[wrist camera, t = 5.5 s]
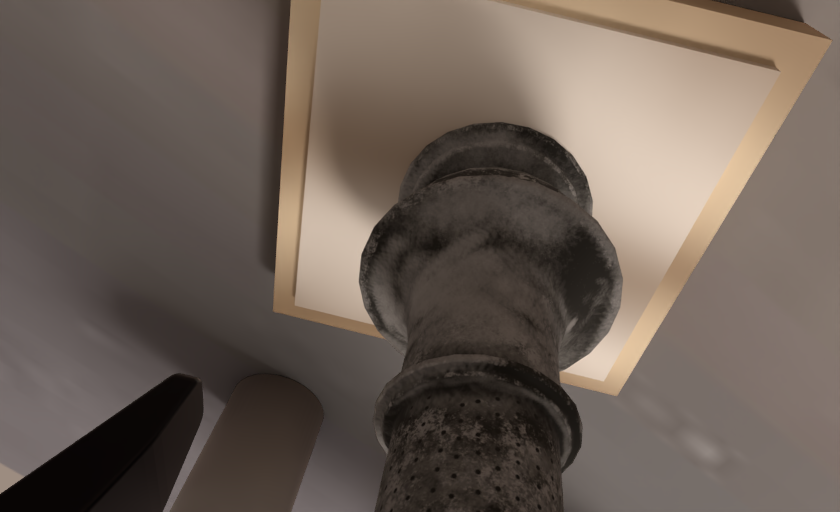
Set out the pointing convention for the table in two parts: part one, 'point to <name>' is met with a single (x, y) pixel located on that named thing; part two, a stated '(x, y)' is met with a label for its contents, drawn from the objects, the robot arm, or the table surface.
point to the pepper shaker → (255, 449)
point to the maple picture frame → (540, 110)
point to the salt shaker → (486, 320)
